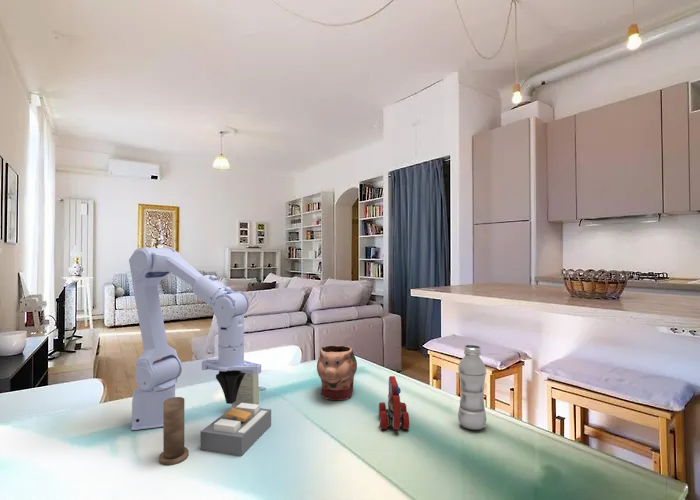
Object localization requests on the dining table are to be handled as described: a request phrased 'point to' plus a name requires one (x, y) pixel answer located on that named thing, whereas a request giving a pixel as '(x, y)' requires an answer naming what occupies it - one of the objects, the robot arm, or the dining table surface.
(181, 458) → the walnut post
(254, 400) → the skincare box
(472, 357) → the plastic bottle
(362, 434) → the dining table surface
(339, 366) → the decorative planter
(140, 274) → the robot arm
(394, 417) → the toy fire truck
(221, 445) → the switch box
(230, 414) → the breaker paddle
